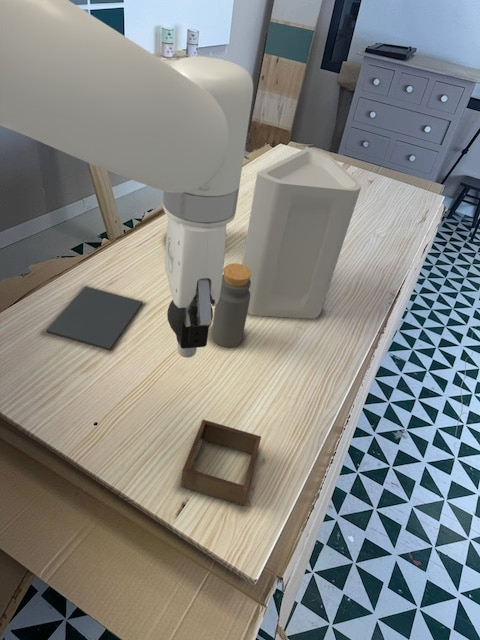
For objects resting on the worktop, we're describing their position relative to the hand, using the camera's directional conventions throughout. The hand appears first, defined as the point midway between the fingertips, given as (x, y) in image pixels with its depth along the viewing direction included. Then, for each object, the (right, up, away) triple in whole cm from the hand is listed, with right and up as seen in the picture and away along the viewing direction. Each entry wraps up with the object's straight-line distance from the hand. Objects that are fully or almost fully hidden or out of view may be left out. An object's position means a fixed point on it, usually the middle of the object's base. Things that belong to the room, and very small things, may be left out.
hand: (188, 327), depth 59 cm
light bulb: (-1, -4, +3) cm, 5 cm away
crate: (+4, -20, +7) cm, 22 cm away
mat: (-20, +1, +28) cm, 34 cm away
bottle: (+4, -2, +28) cm, 29 cm away
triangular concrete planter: (+17, +5, +40) cm, 43 cm away
